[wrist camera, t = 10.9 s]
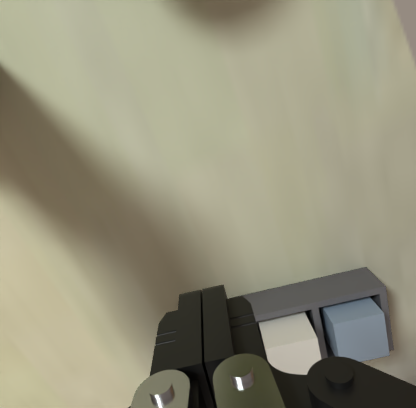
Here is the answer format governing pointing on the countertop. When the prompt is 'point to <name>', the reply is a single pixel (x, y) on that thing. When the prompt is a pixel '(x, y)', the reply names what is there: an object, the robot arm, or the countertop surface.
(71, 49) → the countertop surface
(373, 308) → the slate key
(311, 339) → the white key
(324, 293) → the key panel
